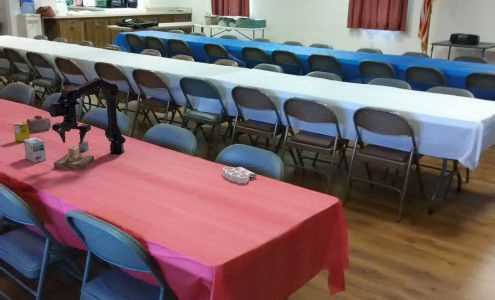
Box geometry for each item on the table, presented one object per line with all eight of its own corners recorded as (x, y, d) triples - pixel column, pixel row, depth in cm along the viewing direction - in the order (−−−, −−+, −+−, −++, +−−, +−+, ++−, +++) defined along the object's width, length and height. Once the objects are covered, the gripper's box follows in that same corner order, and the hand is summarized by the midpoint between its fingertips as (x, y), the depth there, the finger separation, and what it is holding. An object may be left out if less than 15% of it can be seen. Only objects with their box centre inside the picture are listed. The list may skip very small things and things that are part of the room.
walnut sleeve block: (94, 160, 283) (93, 155, 282) (82, 170, 269) (81, 164, 268) (67, 159, 285) (67, 153, 284) (54, 168, 271) (53, 162, 270)
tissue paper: (260, 180, 261) (236, 186, 253) (239, 170, 275) (215, 175, 267) (260, 174, 260) (236, 179, 252) (239, 164, 274) (215, 169, 266)
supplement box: (30, 140, 316) (28, 123, 313) (21, 143, 312) (19, 125, 308) (24, 139, 319) (22, 121, 316) (15, 141, 315) (13, 123, 311)
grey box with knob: (47, 127, 346) (45, 112, 343) (52, 130, 340) (51, 115, 337) (26, 131, 337) (24, 116, 334) (31, 133, 331) (29, 118, 328)
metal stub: (88, 149, 302) (88, 141, 301) (85, 151, 298) (85, 143, 297) (81, 149, 303) (81, 140, 301) (78, 151, 299) (78, 142, 297)
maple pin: (80, 163, 279) (78, 147, 276) (76, 165, 275) (75, 149, 272) (73, 163, 279) (71, 146, 277) (69, 165, 275) (68, 148, 273)
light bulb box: (46, 160, 283) (44, 140, 280) (34, 162, 278) (32, 143, 275) (37, 155, 290) (35, 136, 286) (25, 158, 285) (23, 139, 282)
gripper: (45, 116, 262) (48, 146, 267) (81, 118, 260) (83, 149, 265) (56, 111, 273) (58, 140, 278) (90, 113, 271) (92, 142, 275)
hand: (72, 143), depth 273 cm, fingers open, 9 cm apart
